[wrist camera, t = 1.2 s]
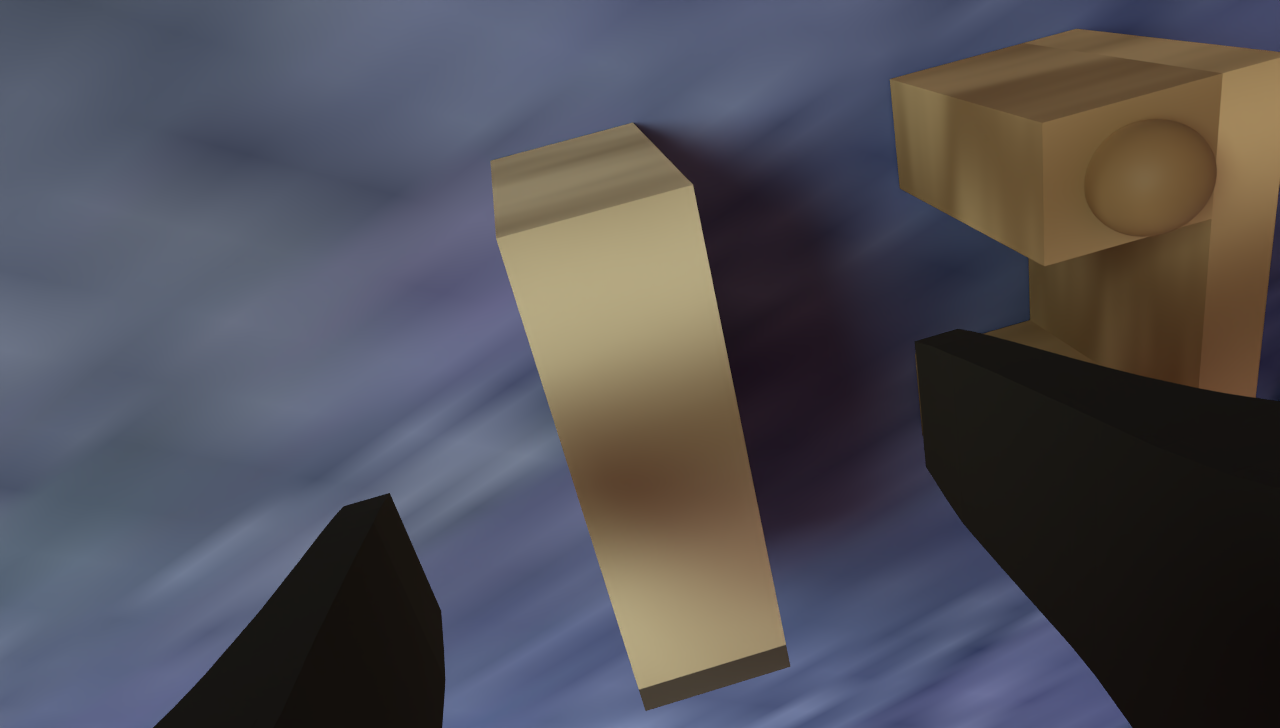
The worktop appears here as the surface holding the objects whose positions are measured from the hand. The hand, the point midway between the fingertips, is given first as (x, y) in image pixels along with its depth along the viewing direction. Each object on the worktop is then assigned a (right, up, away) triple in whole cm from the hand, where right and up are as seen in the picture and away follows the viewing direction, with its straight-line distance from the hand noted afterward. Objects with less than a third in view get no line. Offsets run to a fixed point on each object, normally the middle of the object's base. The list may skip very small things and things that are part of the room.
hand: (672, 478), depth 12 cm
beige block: (-1, +2, +8) cm, 9 cm away
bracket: (+7, +4, +9) cm, 12 cm away
